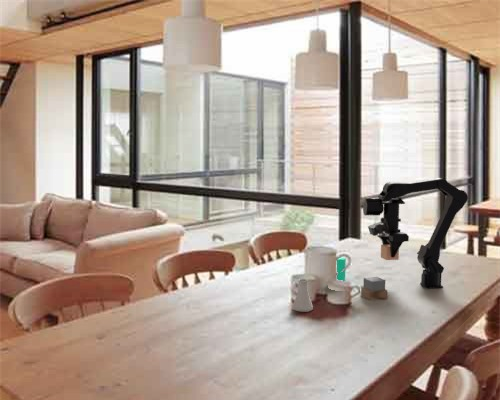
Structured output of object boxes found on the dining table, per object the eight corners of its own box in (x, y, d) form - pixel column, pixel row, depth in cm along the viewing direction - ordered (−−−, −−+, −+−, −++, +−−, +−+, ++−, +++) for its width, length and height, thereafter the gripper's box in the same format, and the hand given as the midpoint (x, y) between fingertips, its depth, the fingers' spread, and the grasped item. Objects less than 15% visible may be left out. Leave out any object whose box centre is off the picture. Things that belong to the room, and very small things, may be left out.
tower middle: (376, 286, 199) (376, 276, 198) (385, 289, 194) (385, 280, 193) (363, 287, 197) (363, 277, 196) (371, 291, 192) (371, 281, 191)
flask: (288, 310, 180) (288, 281, 179) (296, 304, 186) (297, 276, 185) (308, 313, 177) (309, 283, 176) (316, 307, 183) (317, 278, 182)
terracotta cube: (392, 256, 211) (393, 244, 211) (398, 259, 206) (399, 246, 206) (380, 257, 210) (381, 244, 210) (386, 260, 206) (386, 247, 205)
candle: (346, 286, 210) (347, 255, 208) (330, 286, 210) (331, 255, 208) (343, 282, 216) (344, 252, 214) (328, 282, 216) (329, 252, 214)
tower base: (379, 294, 200) (379, 285, 199) (387, 300, 193) (387, 290, 193) (361, 295, 199) (361, 286, 198) (368, 301, 192) (368, 291, 191)
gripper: (361, 212, 214) (360, 251, 216) (381, 219, 196) (379, 262, 198) (388, 212, 216) (386, 250, 218) (410, 218, 198) (408, 260, 200)
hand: (389, 255), depth 208 cm, fingers closed on terracotta cube, 5 cm apart
